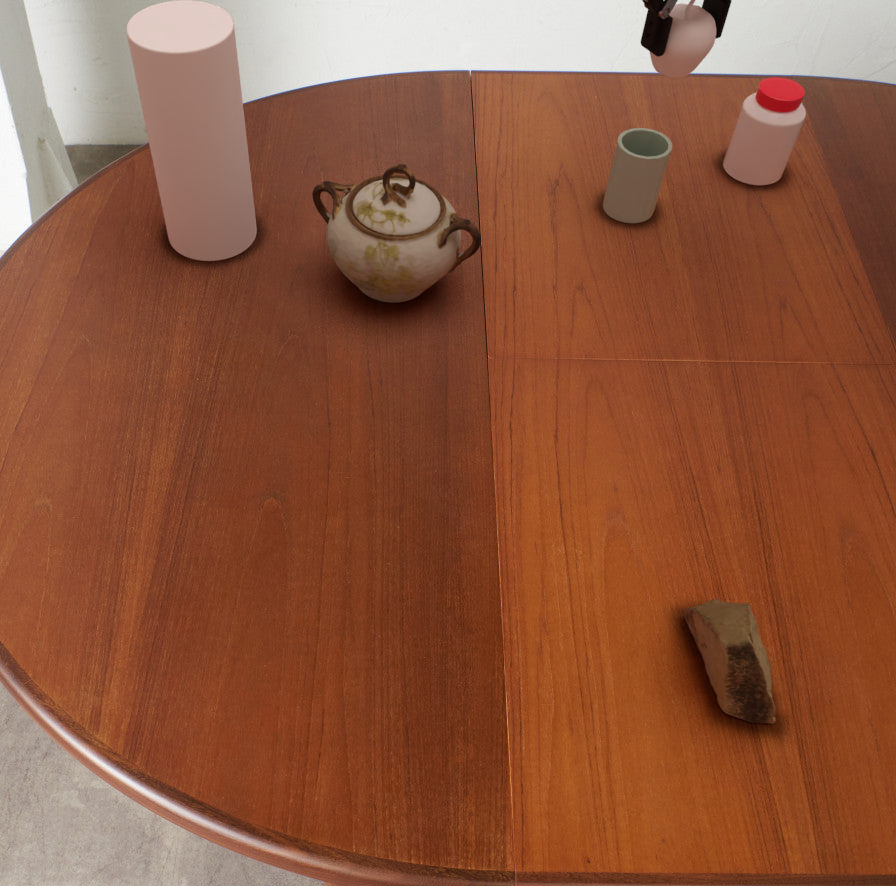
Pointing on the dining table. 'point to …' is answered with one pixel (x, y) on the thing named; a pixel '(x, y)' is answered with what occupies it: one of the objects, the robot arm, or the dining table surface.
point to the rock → (734, 658)
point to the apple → (686, 41)
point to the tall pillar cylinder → (195, 125)
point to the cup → (636, 175)
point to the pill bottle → (766, 132)
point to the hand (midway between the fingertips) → (680, 40)
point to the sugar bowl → (394, 234)
